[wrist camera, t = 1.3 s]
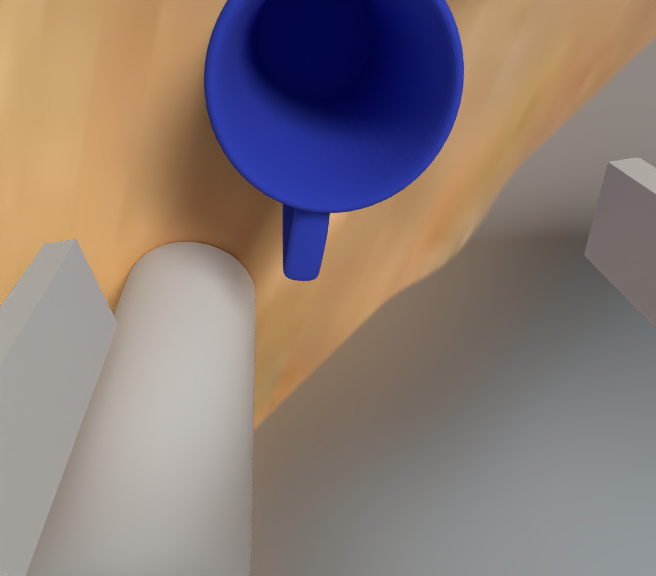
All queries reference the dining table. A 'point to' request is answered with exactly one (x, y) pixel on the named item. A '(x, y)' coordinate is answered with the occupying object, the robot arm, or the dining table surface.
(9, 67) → the dining table surface
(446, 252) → the dining table surface
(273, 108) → the mug
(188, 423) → the bottle
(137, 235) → the dining table surface
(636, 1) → the dining table surface
